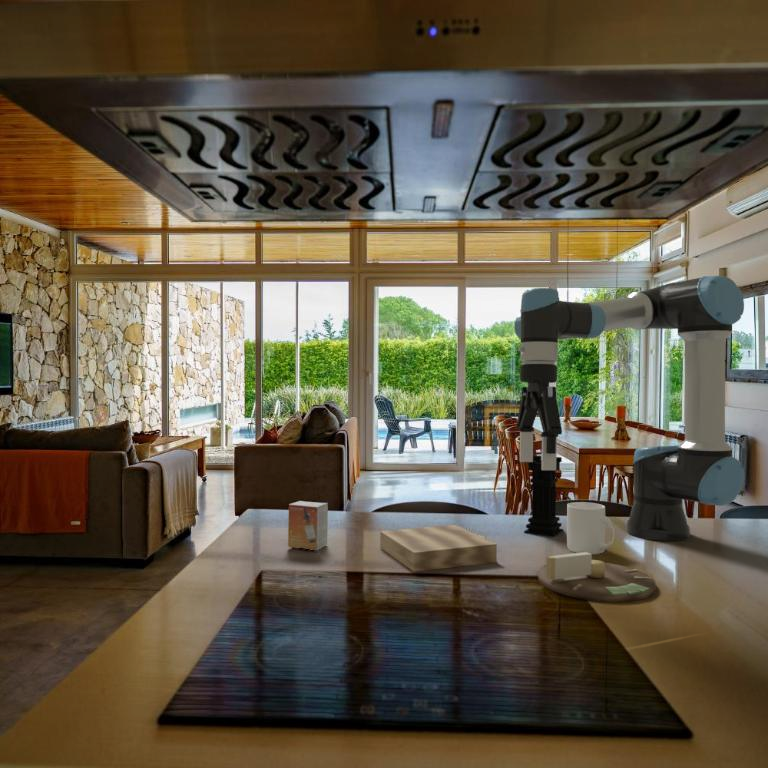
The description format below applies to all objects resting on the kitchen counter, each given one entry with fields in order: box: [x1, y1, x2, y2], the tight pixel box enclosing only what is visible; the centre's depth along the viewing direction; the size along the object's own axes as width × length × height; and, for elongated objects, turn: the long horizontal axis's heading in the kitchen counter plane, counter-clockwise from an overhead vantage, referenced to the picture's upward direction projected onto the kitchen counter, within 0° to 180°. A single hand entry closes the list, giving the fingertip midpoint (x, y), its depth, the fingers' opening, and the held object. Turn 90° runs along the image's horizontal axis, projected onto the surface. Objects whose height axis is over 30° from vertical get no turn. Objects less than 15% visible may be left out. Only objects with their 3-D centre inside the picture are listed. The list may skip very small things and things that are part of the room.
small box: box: [287, 500, 329, 551], centre depth 149 cm, size 8×6×10 cm
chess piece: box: [523, 455, 564, 538], centre depth 163 cm, size 8×8×20 cm
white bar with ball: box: [546, 552, 606, 579], centre depth 121 cm, size 13×4×4 cm, turn 111°
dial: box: [537, 562, 656, 603], centre depth 122 cm, size 22×22×2 cm
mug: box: [566, 501, 616, 555], centre depth 145 cm, size 9×12×11 cm
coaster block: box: [379, 524, 498, 573], centre depth 142 cm, size 20×20×4 cm
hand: (536, 465), depth 128 cm, fingers open, 13 cm apart
